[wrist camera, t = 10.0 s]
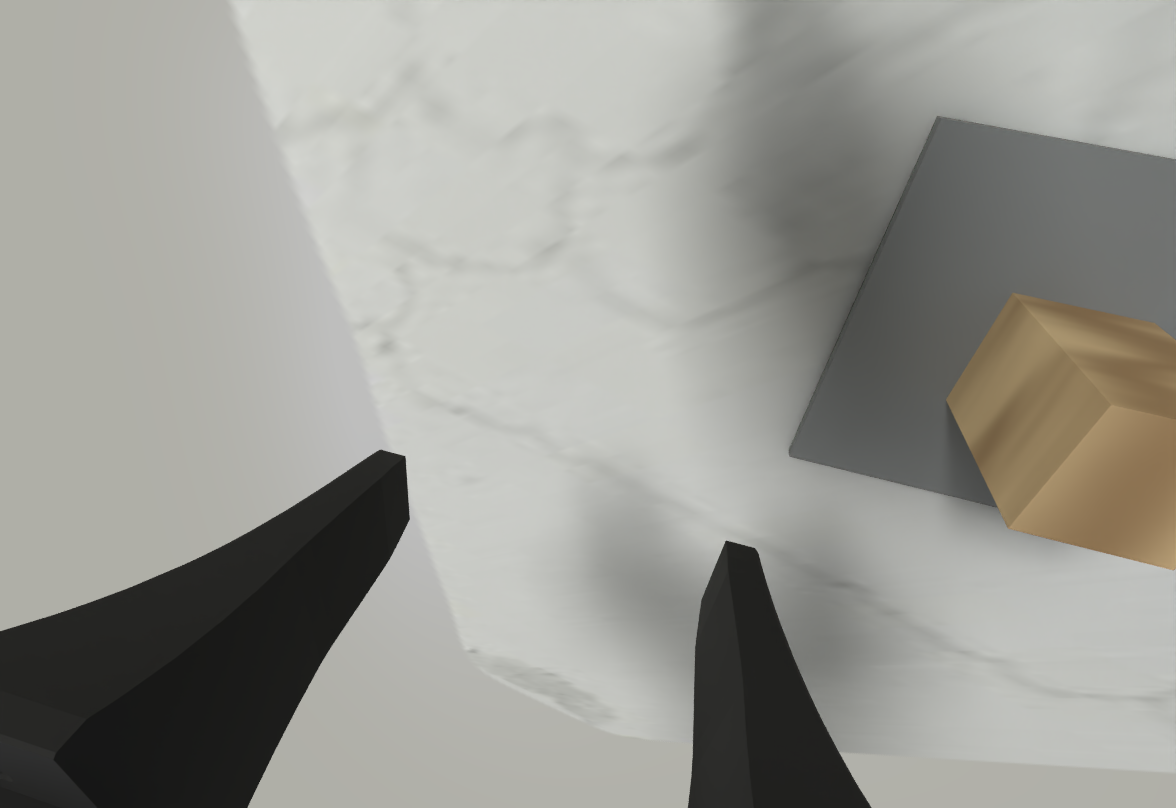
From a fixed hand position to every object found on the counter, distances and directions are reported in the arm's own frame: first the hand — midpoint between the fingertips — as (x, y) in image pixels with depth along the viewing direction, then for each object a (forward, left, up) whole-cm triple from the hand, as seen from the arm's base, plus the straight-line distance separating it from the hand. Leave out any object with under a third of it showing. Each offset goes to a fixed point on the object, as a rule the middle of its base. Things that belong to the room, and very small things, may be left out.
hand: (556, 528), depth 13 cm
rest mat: (-13, -2, -10) cm, 17 cm away
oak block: (-13, -2, -10) cm, 17 cm away
